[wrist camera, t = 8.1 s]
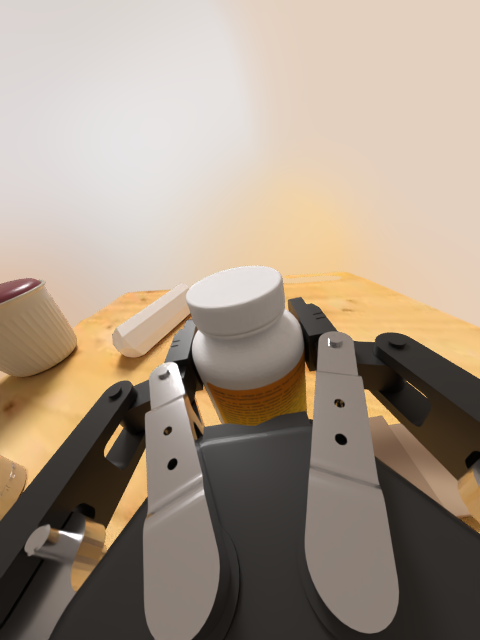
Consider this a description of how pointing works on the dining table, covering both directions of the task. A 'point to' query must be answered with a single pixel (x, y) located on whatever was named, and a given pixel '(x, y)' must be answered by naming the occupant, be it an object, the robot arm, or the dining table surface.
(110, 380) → the dining table surface
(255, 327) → the supplement bottle
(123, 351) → the crystal
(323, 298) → the dining table surface
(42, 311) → the canister
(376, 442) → the brown wooden cradle
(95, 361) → the dining table surface
